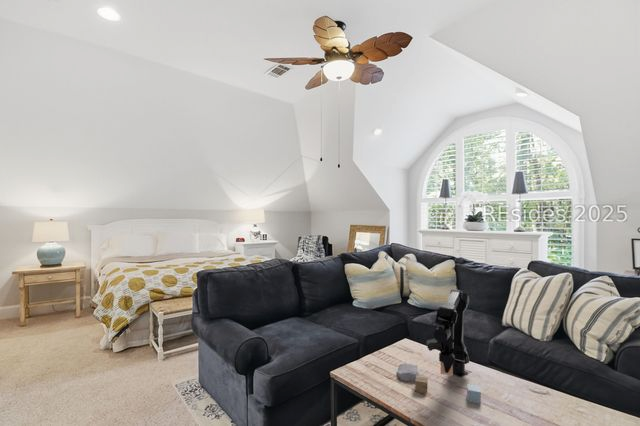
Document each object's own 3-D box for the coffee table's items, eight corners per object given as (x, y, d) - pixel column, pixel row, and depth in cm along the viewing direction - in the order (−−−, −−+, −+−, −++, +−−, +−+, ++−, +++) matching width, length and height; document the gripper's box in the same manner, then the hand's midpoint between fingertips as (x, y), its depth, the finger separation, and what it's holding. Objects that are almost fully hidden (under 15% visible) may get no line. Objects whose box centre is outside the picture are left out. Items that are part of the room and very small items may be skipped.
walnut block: (416, 385, 153) (416, 375, 153) (427, 388, 151) (427, 377, 151) (415, 391, 148) (415, 380, 148) (426, 393, 147) (427, 382, 146)
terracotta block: (440, 368, 150) (440, 357, 150) (452, 370, 148) (452, 359, 148) (440, 373, 145) (440, 362, 145) (452, 375, 143) (452, 364, 143)
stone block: (399, 384, 158) (420, 382, 156) (397, 374, 158) (418, 372, 156) (398, 373, 170) (418, 370, 168) (396, 363, 170) (416, 361, 168)
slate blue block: (466, 395, 145) (467, 384, 145) (479, 397, 144) (479, 386, 143) (467, 401, 141) (467, 390, 141) (480, 404, 139) (480, 392, 139)
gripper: (428, 325, 158) (428, 357, 158) (426, 340, 140) (426, 376, 141) (453, 328, 154) (453, 361, 154) (454, 344, 136) (454, 381, 137)
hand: (446, 369), depth 147 cm, fingers closed on terracotta block, 5 cm apart
